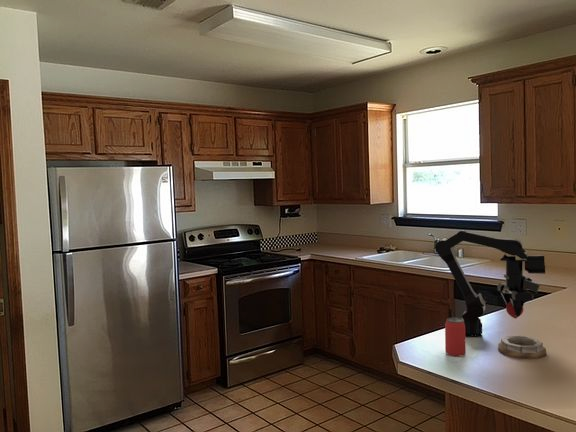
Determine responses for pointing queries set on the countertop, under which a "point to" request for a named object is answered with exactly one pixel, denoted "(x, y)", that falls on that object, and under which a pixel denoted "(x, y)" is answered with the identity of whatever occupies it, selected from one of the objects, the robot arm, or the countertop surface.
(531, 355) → the ring board
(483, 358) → the countertop surface
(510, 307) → the onion
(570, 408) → the countertop surface
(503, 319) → the countertop surface
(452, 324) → the beer can
